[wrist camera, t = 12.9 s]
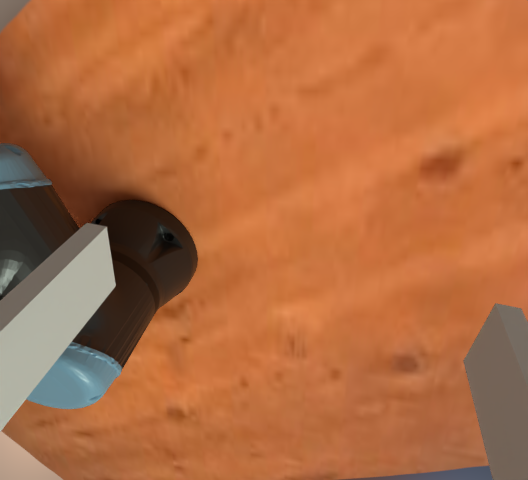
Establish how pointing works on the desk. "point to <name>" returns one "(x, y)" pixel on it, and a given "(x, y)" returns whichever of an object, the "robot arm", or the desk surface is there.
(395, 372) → the desk surface
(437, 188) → the desk surface
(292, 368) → the desk surface
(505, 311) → the robot arm
